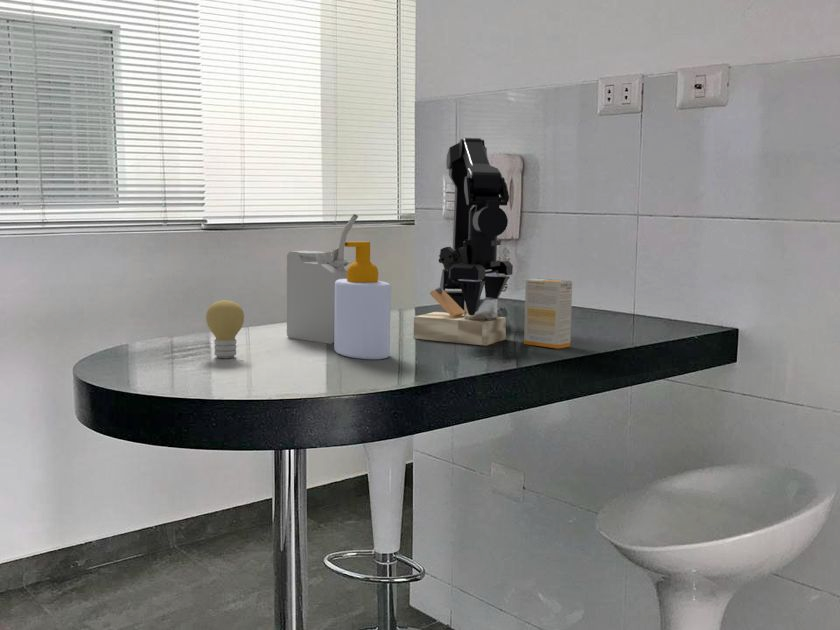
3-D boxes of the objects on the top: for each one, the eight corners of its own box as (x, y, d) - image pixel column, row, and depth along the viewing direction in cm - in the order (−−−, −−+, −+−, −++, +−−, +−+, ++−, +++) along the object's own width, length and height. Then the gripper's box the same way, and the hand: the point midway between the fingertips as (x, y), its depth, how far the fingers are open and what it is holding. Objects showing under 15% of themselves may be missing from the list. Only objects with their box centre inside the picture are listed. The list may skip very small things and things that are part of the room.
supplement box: (571, 347, 174) (574, 280, 172) (557, 349, 171) (560, 281, 169) (536, 341, 180) (539, 277, 178) (522, 344, 176) (524, 278, 174)
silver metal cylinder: (471, 334, 184) (472, 296, 183) (501, 337, 181) (502, 298, 180) (458, 338, 178) (459, 299, 177) (488, 341, 175) (489, 301, 174)
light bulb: (225, 361, 151) (225, 303, 149) (198, 357, 154) (198, 300, 153) (251, 356, 156) (251, 300, 155) (225, 353, 159) (224, 297, 158)
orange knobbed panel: (463, 315, 183) (467, 309, 183) (452, 317, 179) (457, 311, 178) (438, 290, 185) (443, 284, 185) (428, 292, 181) (432, 286, 180)
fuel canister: (360, 342, 174) (361, 214, 171) (343, 345, 170) (344, 214, 167) (304, 334, 183) (304, 212, 180) (286, 337, 179) (286, 212, 176)
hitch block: (435, 332, 190) (435, 311, 189) (505, 339, 182) (506, 317, 182) (413, 338, 181) (413, 316, 180) (486, 345, 173) (486, 322, 173)
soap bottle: (323, 351, 164) (323, 240, 161) (360, 347, 169) (361, 239, 166) (363, 362, 153) (364, 243, 151) (401, 357, 158) (403, 243, 156)
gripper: (465, 232, 189) (463, 305, 191) (425, 234, 172) (423, 314, 174) (514, 234, 184) (512, 309, 186) (478, 236, 167) (475, 318, 169)
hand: (480, 312), depth 179 cm, fingers open, 9 cm apart
